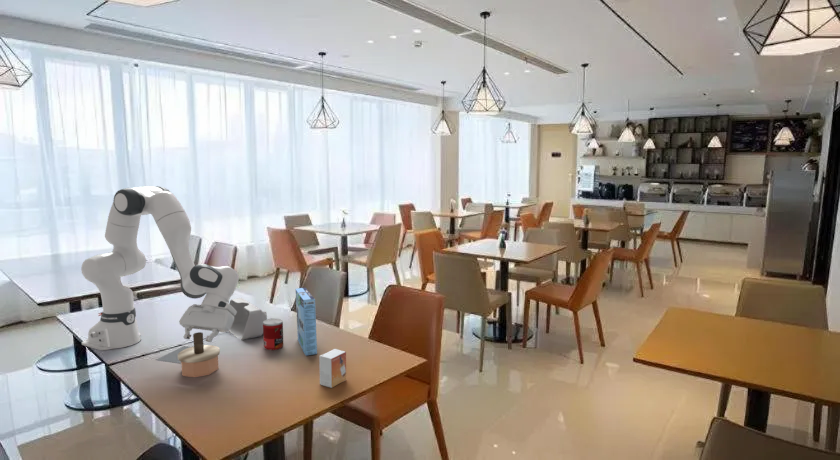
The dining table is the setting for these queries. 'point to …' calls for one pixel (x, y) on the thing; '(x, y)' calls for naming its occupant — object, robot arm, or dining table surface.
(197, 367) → the bowl
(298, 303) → the blue cereal box
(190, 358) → the lid
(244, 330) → the grey open bin
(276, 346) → the canned food
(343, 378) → the small box
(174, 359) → the mat
